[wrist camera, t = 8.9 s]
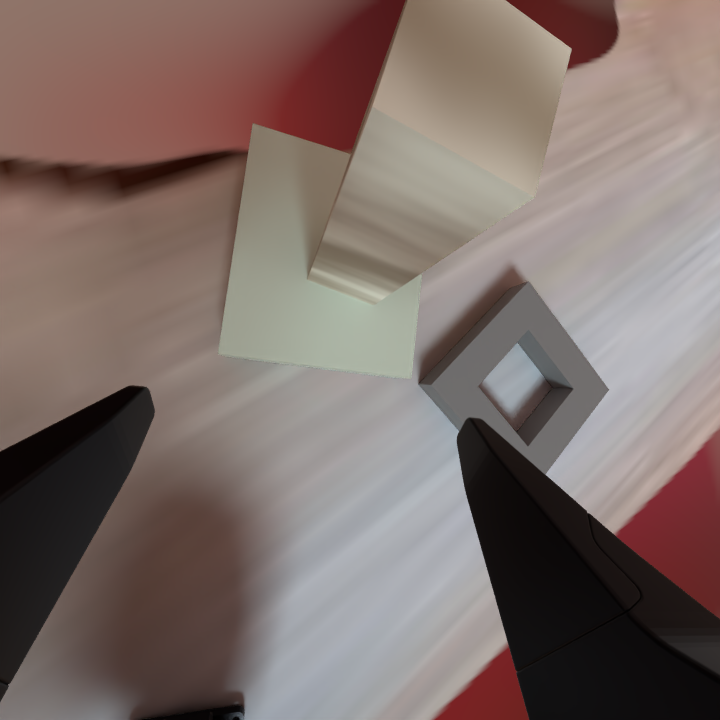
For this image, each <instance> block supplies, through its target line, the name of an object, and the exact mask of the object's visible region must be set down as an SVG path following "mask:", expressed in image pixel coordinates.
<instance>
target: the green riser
mask: <svg viewBox="0 0 720 720" xmlns="http://www.w3.org/2000/svg"><path fill="white" fill-rule="evenodd" d="M350 155H351V154H349V153H345V152H342V151H339V150H336V149H333V148H330V147H326V146H323V145H320V144H317V143H314V142H310V141H307V140H304V139H301V138H298V137H295V136H292V135H289V134H285V133H282V132H279V131H276V130H272V129H269V128H266V127H263V126H260V125H257V124H254V123H253V125H252V131H251V138H250V144H249V151H248V158H247V164H246V171H245V177H244V184H243V191H242V197H241V204H240V210H239V217H238V224H237V230H236V237H235V243H234V250H233V257H232V263H231V270H230V276H229V283H228V290H227V296H226V303H225V309H224V316H223V323H222V329H221V336H220V342H219V349H218V354H219V355H222V356H225V357H231V358H239V359H247V360H255V361H263V362H271V363H279V364H287V365H295V366H303V367H311V368H319V369H327V370H335V371H343V372H351V373H358V374H366V375H374V376H382V377H390V378H408V379H411V376H412V366H413V357H414V347H415V337H416V328H417V318H418V309H419V299H420V289H421V280H422V273H421V274H420V275H418V276H417V277H415V278H414V279H412V280H411V281H409V282H408V283H406V284H405V285H403V286H402V287H400V288H399V289H397V290H396V291H394V292H393V293H391V294H390V295H388V296H387V297H385V298H384V299H382V300H381V301H379V302H378V303H376V304H375V305H371V304H369V303H366V302H364V301H361V300H358V299H356V298H353V297H351V296H348V295H345V294H343V293H340V292H338V291H335V290H333V289H330V288H327V287H325V286H322V285H320V284H317V283H314V282H312V281H309V280H307V279H308V276H309V273H310V270H311V267H312V264H313V261H314V258H315V255H316V252H317V249H318V246H319V243H320V240H321V237H322V234H323V231H324V228H325V225H326V222H327V219H328V216H329V213H330V210H331V208H332V205H333V202H334V199H335V197H336V194H337V191H338V188H339V185H340V183H341V180H342V177H343V174H344V171H345V169H346V166H347V163H348V160H349V158H350Z"/></svg>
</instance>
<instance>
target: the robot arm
mask: <svg viewBox="0 0 720 720" xmlns="http://www.w3.org/2000/svg"><path fill="white" fill-rule="evenodd" d="M154 413H155V409H154V405H153V401H152V398H151V394H150V391H149V389H148V388H147V387H144V386H134V385H131V386H127V387H125V388H123V389H121V390H119V391H117V392H115V393H113V394H111V395H110V396H108V397H106V398H104V399H102V400H100V401H98V402H96V403H94V404H92V405H90V406H88V407H86V408H84V409H82V410H80V411H78V412H76V413H74V414H72V415H71V416H69V417H67V418H65V419H63V420H61V421H59V422H57V423H55V424H53V425H51V426H49V427H47V428H45V429H43V430H41V431H39V432H37V433H35V434H34V435H32V436H30V437H28V438H26V439H24V440H22V441H20V442H18V443H16V444H14V445H12V446H10V447H8V448H6V449H4V450H2V451H0V701H1V700H2V698H3V696H4V694H5V692H6V691H7V689H8V687H9V686H8V684H10V683H11V681H12V679H13V678H14V676H15V674H16V672H17V671H18V669H19V667H20V665H21V664H22V662H23V660H24V658H25V657H26V655H27V653H28V651H29V649H30V648H31V646H32V644H33V642H34V641H35V639H36V637H37V635H38V634H39V632H40V630H41V628H42V627H43V625H44V623H45V621H46V619H47V618H48V616H49V614H50V612H51V611H52V609H53V607H54V605H55V604H56V602H57V600H58V598H59V597H60V595H61V593H62V591H63V589H64V588H65V586H66V584H67V582H68V581H69V579H70V577H71V575H72V574H73V572H74V570H75V568H76V566H77V565H78V563H79V561H80V559H81V558H82V556H83V554H84V552H85V551H86V549H87V547H88V545H89V544H90V542H91V540H92V538H93V536H94V535H95V533H96V531H97V529H98V528H99V526H100V524H101V522H102V521H103V519H104V517H105V515H106V514H107V512H108V510H109V508H110V506H111V505H112V503H113V501H114V499H115V498H116V496H117V494H118V492H119V491H120V489H121V487H122V485H123V483H124V482H125V480H126V478H127V476H128V474H129V473H130V471H131V469H132V467H133V464H134V462H135V460H136V458H137V455H138V453H139V451H140V448H141V446H142V444H143V441H144V439H145V436H146V434H147V432H148V429H149V427H150V425H151V422H152V420H153V417H154ZM457 446H458V452H459V458H460V464H461V470H462V476H463V482H464V487H465V491H466V495H467V499H468V503H469V506H470V510H471V513H472V517H473V520H474V524H475V527H476V531H477V535H478V538H479V542H480V545H481V549H482V552H483V556H484V559H485V563H486V567H487V570H488V574H489V577H490V581H491V584H492V588H493V591H494V595H495V599H496V602H497V606H498V609H499V613H500V616H501V620H502V623H503V627H504V631H505V634H506V638H507V641H508V645H509V648H510V652H511V655H512V659H513V663H514V666H515V670H516V671H517V673H516V674H517V678H518V681H519V685H520V688H521V692H522V695H523V699H524V702H525V706H526V710H527V713H528V717H529V720H720V619H719V618H718V617H716V616H715V615H714V614H712V613H711V612H710V611H709V610H707V609H706V608H705V607H703V606H702V605H701V604H700V603H698V602H697V601H696V600H695V599H693V598H692V597H691V596H690V595H688V594H687V593H686V592H685V591H683V590H682V589H681V588H679V587H678V586H677V585H676V584H674V583H673V582H672V581H671V580H669V579H668V578H667V577H666V576H664V575H663V574H662V573H660V572H659V571H658V570H657V569H655V568H654V567H653V566H652V565H650V564H649V563H648V562H647V561H645V560H644V559H643V558H642V557H640V556H639V555H638V554H637V553H636V552H634V551H633V550H632V549H631V548H629V547H628V546H627V545H626V544H624V543H623V542H622V541H621V540H620V539H618V538H617V537H616V536H615V535H614V534H613V533H612V532H610V531H609V530H608V529H607V528H606V527H604V526H603V525H602V524H601V523H600V522H599V521H598V520H597V519H595V518H594V517H593V516H592V515H591V514H589V513H587V511H586V510H585V509H584V508H583V507H582V506H580V505H579V504H578V503H577V502H576V501H575V500H574V499H573V498H571V497H570V496H569V495H568V494H567V493H566V492H565V491H563V490H562V489H561V488H560V487H559V486H558V485H557V484H555V483H554V482H553V481H552V480H551V479H550V478H549V477H547V476H546V475H545V474H544V473H543V472H542V471H541V470H539V469H538V468H537V467H536V466H535V465H534V464H533V463H532V462H530V461H529V460H528V459H527V458H526V457H525V456H524V455H522V454H521V453H520V452H519V451H518V450H517V449H516V448H514V447H513V446H512V445H511V444H510V443H509V442H508V441H506V440H505V439H504V438H503V437H502V436H501V435H500V434H498V433H497V432H496V431H495V430H494V429H493V428H492V427H491V426H489V425H488V424H487V423H486V422H485V421H484V420H482V419H481V418H473V417H468V418H467V419H466V420H465V422H464V424H463V426H462V427H461V429H460V431H459V433H458V436H457ZM244 714H245V712H244V708H243V707H242V706H231V707H224V708H217V709H211V710H204V711H197V712H191V713H184V714H177V715H171V716H164V717H157V718H150V719H144V720H244ZM236 716H238V718H234V717H236Z"/></svg>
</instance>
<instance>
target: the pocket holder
mask: <svg viewBox="0 0 720 720" xmlns="http://www.w3.org/2000/svg"><path fill="white" fill-rule="evenodd" d="M517 342H518V344H519V345H520V346H521V347H522V349H523V350H524V351H525V353H526V354H527V355H528V356H529V358H530V359H531V360H532V362H533V363H534V364H535V365H536V367H537V368H538V369H539V371H540V372H541V373H542V374H543V376H544V377H545V378H546V380H547V381H548V382H549V383H550V385H551V386H552V387H553V388H552V389H551V391H550V392H549V393H548V394H547V396H546V397H545V398H544V399H543V400H542V402H541V403H540V404H539V405H538V407H537V408H536V409H535V410H534V412H533V413H532V414H531V415H530V416H529V418H528V419H527V420H526V421H525V423H524V424H523V425H522V426H521V428H520V429H519V430H518V431H517V432H515V430H514V429H513V428H512V427H511V426H510V424H509V423H508V422H507V421H506V420H505V418H504V417H503V416H502V415H501V414H500V412H499V411H498V410H497V409H496V407H495V406H494V405H493V404H492V403H491V401H490V400H489V399H488V398H487V397H486V395H485V394H484V393H483V392H482V391H481V389H480V388H479V387H478V386H479V385H480V383H481V382H482V381H483V380H484V379H485V378H486V377H487V376H488V374H489V373H490V372H491V371H492V370H493V369H494V368H495V367H496V365H497V364H498V363H499V362H500V361H501V360H502V359H503V358H504V356H505V355H506V354H507V353H508V352H509V351H510V350H511V349H512V347H513V346H514V345H515V344H516V343H517ZM419 385H420V387H421V388H422V389H423V390H424V391H425V392H426V393H427V395H428V396H429V397H430V398H431V399H432V400H433V402H434V403H435V404H436V405H437V406H438V407H439V408H440V410H441V411H442V412H443V413H444V414H445V415H446V416H447V418H448V419H449V420H450V421H451V422H452V423H453V425H454V426H455V427H456V428H457V429H458V430H459V431H460V429H461V427H462V426H463V424H464V422H465V420H466V419H467V418H468V417H473V418H481V419H482V420H484V421H485V422H486V423H487V424H488V425H489V426H491V427H492V428H493V429H494V430H495V431H496V432H497V433H498V434H500V435H501V436H502V437H503V438H504V439H505V440H506V441H508V442H509V443H510V444H511V445H512V446H513V447H514V448H516V449H517V450H518V451H519V452H520V453H521V454H522V455H524V456H525V457H526V458H527V459H528V460H529V461H530V462H532V463H533V464H534V465H535V466H536V467H537V468H538V469H539V470H541V471H542V472H543V473H544V474H546V473H547V471H548V470H549V469H550V467H551V466H552V465H553V463H554V462H555V461H556V459H557V458H558V457H559V455H560V454H561V453H562V452H563V450H564V449H565V448H566V446H567V445H568V444H569V442H570V441H571V440H572V438H573V437H574V436H575V434H576V433H577V432H578V430H579V429H580V428H581V426H582V425H583V424H584V422H585V421H586V420H587V418H588V417H589V416H590V414H591V413H592V412H593V410H594V409H595V408H596V406H597V405H598V404H599V402H600V401H601V400H602V398H603V397H604V396H605V394H606V393H607V392H608V390H609V389H608V388H607V386H606V385H605V384H604V382H603V381H602V380H601V378H600V377H599V376H598V374H597V373H596V371H595V370H594V369H593V367H592V366H591V365H590V363H589V362H588V361H587V359H586V358H585V357H584V355H583V354H582V353H581V351H580V350H579V349H578V347H577V346H576V345H575V343H574V342H573V340H572V339H571V338H570V336H569V335H568V334H567V332H566V331H565V330H564V328H563V327H562V326H561V324H560V323H559V322H558V320H557V319H556V318H555V316H554V315H553V314H552V312H551V311H550V309H549V308H548V307H547V305H546V304H545V303H544V301H543V300H542V299H541V297H540V296H539V295H538V293H537V292H536V291H535V289H534V288H533V287H532V285H531V284H530V282H529V281H528V282H525V283H523V284H520V285H517V286H514V287H512V288H510V289H509V290H508V291H507V292H506V293H505V294H504V295H503V296H502V297H501V298H500V299H499V300H498V301H497V302H496V304H495V305H494V306H493V307H492V308H491V309H490V310H489V311H488V312H487V313H486V314H485V315H484V316H483V317H482V318H481V319H480V320H479V321H478V322H477V323H476V324H475V325H474V327H473V328H472V329H471V330H470V331H469V332H468V333H467V334H466V335H465V336H464V337H463V338H462V339H461V340H460V341H459V342H458V343H457V344H456V345H455V346H454V347H453V349H452V350H451V351H450V352H449V353H448V354H447V355H446V356H445V357H444V358H443V359H442V360H441V361H440V362H439V363H438V364H437V365H436V366H435V367H434V368H433V369H432V370H431V372H430V373H429V374H428V375H427V376H426V377H425V378H424V379H423V380H422V381H421V382H420V383H419Z"/></svg>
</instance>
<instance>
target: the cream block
mask: <svg viewBox="0 0 720 720" xmlns="http://www.w3.org/2000/svg"><path fill="white" fill-rule="evenodd" d="M570 53H571V48H569V47H568V46H567V45H565V44H564V43H563V42H561V41H560V40H559V39H557V38H555V37H554V36H553V35H552V34H550V33H549V32H548V31H546V30H545V29H544V28H542V27H541V26H539V25H538V24H537V23H535V22H534V21H533V20H531V19H530V18H528V17H527V16H526V15H524V14H523V13H522V12H520V11H519V10H518V9H516V8H515V7H514V6H512V5H511V4H509V3H508V2H507V1H505V0H406V2H405V4H404V7H403V10H402V13H401V16H400V18H399V21H398V24H397V27H396V29H395V32H394V35H393V38H392V41H391V43H390V46H389V49H388V52H387V54H386V57H385V60H384V63H383V66H382V69H381V71H380V74H379V77H378V80H377V82H376V85H375V88H374V91H373V93H372V97H371V99H370V102H369V105H368V107H367V110H366V113H365V116H364V119H363V121H362V124H361V127H360V130H359V133H358V135H357V138H356V141H355V144H354V146H353V149H352V152H351V155H350V158H349V160H348V163H347V166H346V169H345V171H344V174H343V177H342V180H341V183H340V185H339V188H338V191H337V194H336V197H335V199H334V202H333V205H332V208H331V210H330V213H329V216H328V219H327V222H326V225H325V228H324V231H323V234H322V237H321V240H320V243H319V246H318V249H317V252H316V255H315V258H314V261H313V264H312V267H311V270H310V273H309V276H308V279H307V280H309V281H312V282H314V283H317V284H320V285H322V286H325V287H327V288H330V289H333V290H335V291H338V292H340V293H343V294H345V295H348V296H351V297H353V298H356V299H358V300H361V301H364V302H366V303H369V304H371V305H375V304H376V303H378V302H379V301H381V300H382V299H384V298H385V297H387V296H388V295H390V294H391V293H393V292H394V291H396V290H397V289H399V288H400V287H402V286H403V285H405V284H406V283H408V282H409V281H411V280H412V279H414V278H415V277H417V276H418V275H420V274H421V273H423V272H424V271H426V270H427V269H429V268H430V267H432V266H433V265H435V264H436V263H438V262H439V261H441V260H442V259H444V258H445V257H447V256H448V255H450V254H451V253H453V252H454V251H456V250H457V249H459V248H460V247H462V246H463V245H465V244H466V243H468V242H469V241H471V240H472V239H474V238H475V237H476V236H478V235H479V234H481V233H482V232H484V231H485V230H487V229H488V228H490V227H491V226H493V225H494V224H496V223H497V222H499V221H500V220H502V219H503V218H505V217H506V216H508V215H509V214H511V213H512V212H514V211H515V210H517V209H518V208H520V207H521V206H523V205H524V204H526V203H527V202H529V201H530V200H532V199H533V198H535V195H536V191H537V187H538V183H539V179H540V175H541V171H542V167H543V163H544V159H545V155H546V150H547V146H548V142H549V138H550V134H551V130H552V126H553V122H554V118H555V114H556V110H557V106H558V102H559V98H560V94H561V90H562V86H563V82H564V78H565V74H566V70H567V66H568V61H569V57H570Z"/></svg>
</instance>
